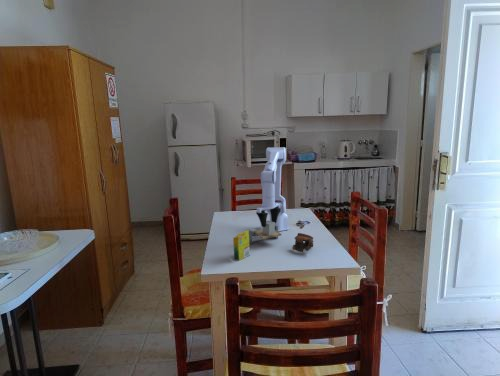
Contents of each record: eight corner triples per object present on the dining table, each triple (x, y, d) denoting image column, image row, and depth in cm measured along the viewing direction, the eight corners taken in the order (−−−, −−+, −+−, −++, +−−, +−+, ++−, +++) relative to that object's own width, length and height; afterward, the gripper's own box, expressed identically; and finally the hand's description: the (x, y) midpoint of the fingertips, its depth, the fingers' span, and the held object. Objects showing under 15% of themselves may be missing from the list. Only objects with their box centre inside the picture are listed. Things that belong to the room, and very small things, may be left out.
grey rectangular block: (268, 231, 159) (268, 220, 158) (274, 233, 157) (274, 222, 155) (262, 233, 156) (262, 222, 155) (269, 235, 154) (269, 224, 153)
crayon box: (245, 253, 147) (244, 228, 145) (250, 255, 145) (249, 229, 143) (233, 259, 141) (232, 232, 139) (238, 260, 139) (238, 234, 137)
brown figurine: (287, 248, 152) (292, 231, 154) (303, 254, 156) (308, 237, 157) (302, 251, 141) (307, 232, 143) (319, 257, 145) (324, 239, 147)
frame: (271, 235, 170) (271, 223, 169) (278, 239, 165) (277, 226, 164) (243, 241, 163) (243, 228, 162) (250, 245, 158) (249, 231, 156)
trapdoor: (267, 230, 170) (267, 224, 169) (283, 239, 157) (283, 233, 157) (246, 234, 164) (246, 228, 163) (260, 244, 152) (260, 237, 151)
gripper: (271, 192, 161) (272, 219, 163) (251, 197, 151) (252, 226, 153) (283, 194, 156) (283, 222, 159) (263, 199, 146) (263, 229, 148)
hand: (268, 224), depth 156 cm, fingers open, 7 cm apart
